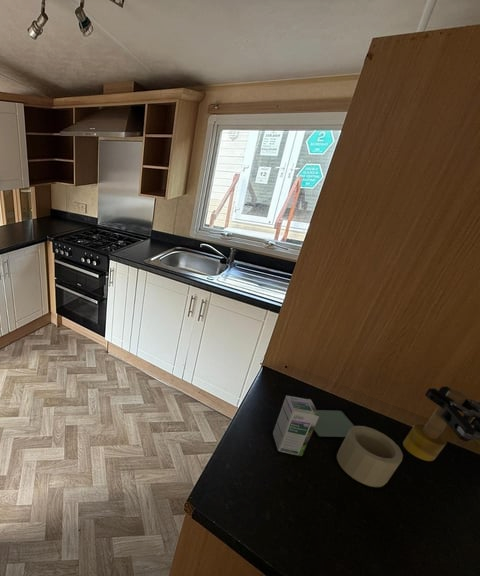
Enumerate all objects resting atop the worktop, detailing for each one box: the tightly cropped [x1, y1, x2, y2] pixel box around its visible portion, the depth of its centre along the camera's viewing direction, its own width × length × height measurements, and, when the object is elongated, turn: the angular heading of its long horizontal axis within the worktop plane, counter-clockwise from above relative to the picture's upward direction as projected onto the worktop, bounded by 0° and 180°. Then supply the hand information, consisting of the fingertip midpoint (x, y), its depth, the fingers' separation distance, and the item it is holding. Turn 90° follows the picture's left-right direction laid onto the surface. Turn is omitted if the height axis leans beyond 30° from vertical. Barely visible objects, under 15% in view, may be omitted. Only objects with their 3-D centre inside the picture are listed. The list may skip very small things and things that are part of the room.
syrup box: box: [272, 394, 319, 457], centre depth 79 cm, size 6×6×14 cm
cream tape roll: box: [336, 425, 404, 488], centre depth 75 cm, size 10×10×9 cm
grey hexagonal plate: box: [313, 409, 355, 438], centre depth 88 cm, size 12×9×1 cm
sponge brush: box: [402, 389, 468, 462], centre depth 62 cm, size 5×5×16 cm
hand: (435, 390), depth 62 cm, fingers closed on sponge brush, 2 cm apart
